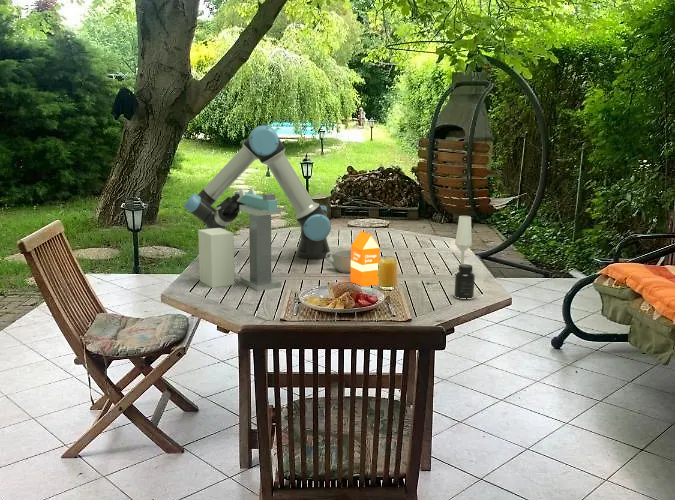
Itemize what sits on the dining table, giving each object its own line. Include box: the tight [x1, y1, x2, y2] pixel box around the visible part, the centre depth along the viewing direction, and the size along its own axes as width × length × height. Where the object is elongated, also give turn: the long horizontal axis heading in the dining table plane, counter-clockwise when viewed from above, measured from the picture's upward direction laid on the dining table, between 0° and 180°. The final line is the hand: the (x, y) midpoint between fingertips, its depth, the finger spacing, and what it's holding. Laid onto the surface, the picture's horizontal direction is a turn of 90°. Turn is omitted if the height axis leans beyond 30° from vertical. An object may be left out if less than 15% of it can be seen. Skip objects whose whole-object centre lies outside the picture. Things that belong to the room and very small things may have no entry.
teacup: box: [325, 248, 351, 274], centre depth 268 cm, size 14×11×8 cm
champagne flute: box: [454, 215, 473, 273], centre depth 264 cm, size 7×7×24 cm
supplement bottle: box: [453, 263, 476, 299], centre depth 232 cm, size 7×7×12 cm
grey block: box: [197, 228, 235, 289], centre depth 245 cm, size 12×9×20 cm
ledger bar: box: [233, 190, 278, 211], centre depth 241 cm, size 28×4×6 cm, turn 34°
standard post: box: [239, 205, 282, 292], centre depth 242 cm, size 14×10×30 cm
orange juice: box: [350, 230, 380, 287], centre depth 248 cm, size 8×9×20 cm
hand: (248, 191), depth 245 cm, fingers closed on ledger bar, 3 cm apart
